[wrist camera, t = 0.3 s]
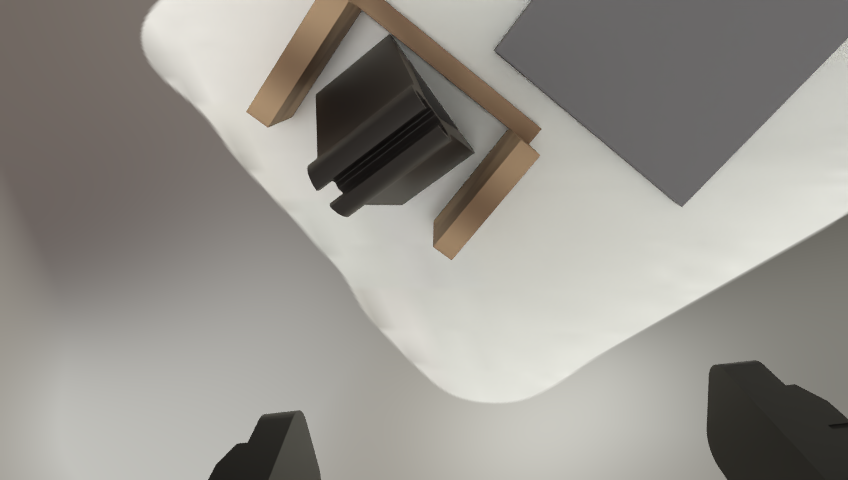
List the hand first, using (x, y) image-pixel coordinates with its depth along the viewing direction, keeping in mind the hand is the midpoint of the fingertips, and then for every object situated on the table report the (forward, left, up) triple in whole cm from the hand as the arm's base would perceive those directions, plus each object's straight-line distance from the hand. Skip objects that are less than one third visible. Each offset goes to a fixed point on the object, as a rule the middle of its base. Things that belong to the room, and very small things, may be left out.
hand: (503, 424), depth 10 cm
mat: (-15, +5, -25) cm, 30 cm away
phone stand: (0, -5, -26) cm, 26 cm away
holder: (0, -5, -25) cm, 26 cm away
